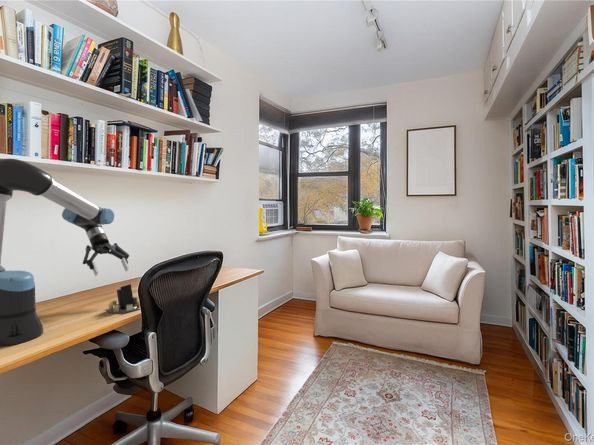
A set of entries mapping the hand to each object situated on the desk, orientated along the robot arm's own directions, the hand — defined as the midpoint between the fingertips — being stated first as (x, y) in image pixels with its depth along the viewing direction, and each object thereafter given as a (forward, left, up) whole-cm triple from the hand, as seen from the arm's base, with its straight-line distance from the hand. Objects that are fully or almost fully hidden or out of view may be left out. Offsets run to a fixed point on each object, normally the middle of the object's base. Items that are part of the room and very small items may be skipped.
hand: (112, 271), depth 154 cm
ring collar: (+10, -5, -16) cm, 19 cm away
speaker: (+9, -6, -15) cm, 19 cm away
